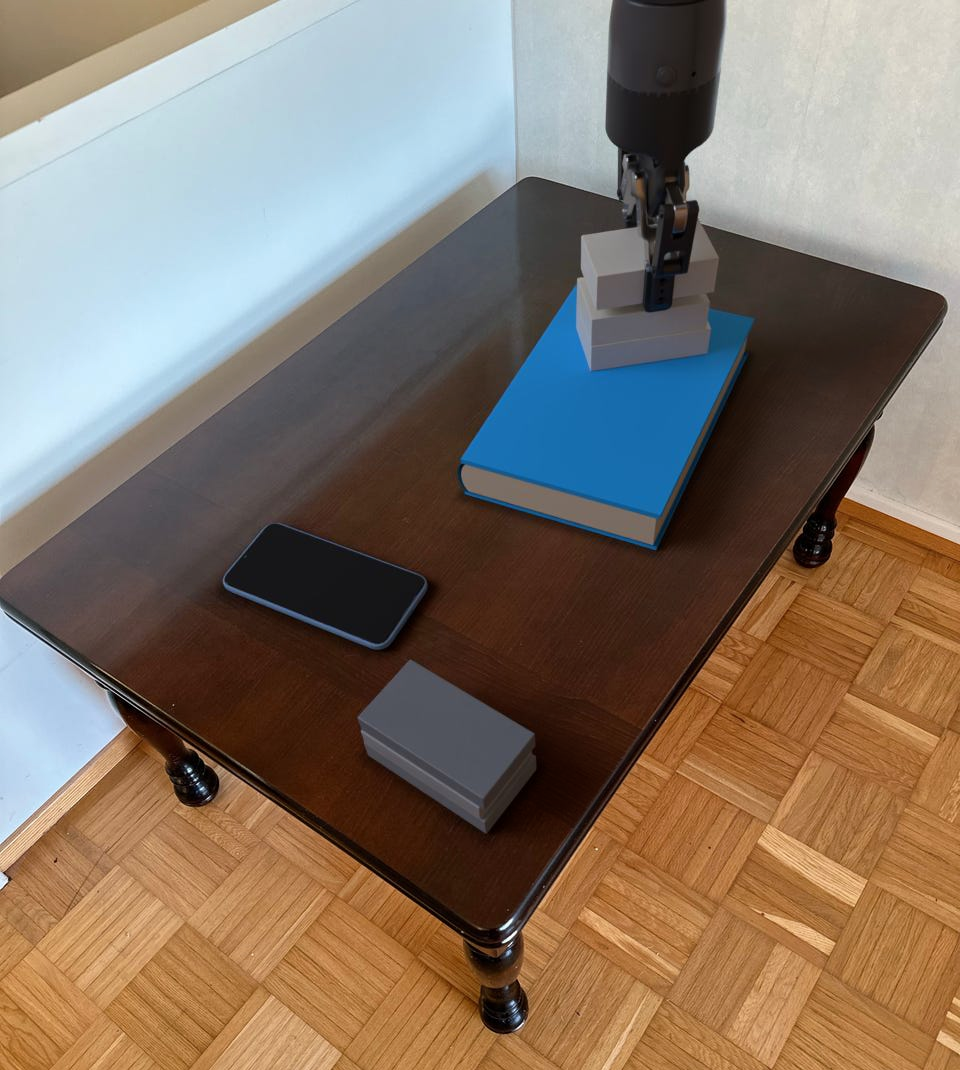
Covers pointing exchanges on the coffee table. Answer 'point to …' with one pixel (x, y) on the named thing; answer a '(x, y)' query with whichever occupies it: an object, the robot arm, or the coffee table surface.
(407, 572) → the smartphone
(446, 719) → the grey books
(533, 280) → the coffee table surface
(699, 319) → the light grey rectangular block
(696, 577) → the coffee table surface
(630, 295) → the light grey block
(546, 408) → the book
